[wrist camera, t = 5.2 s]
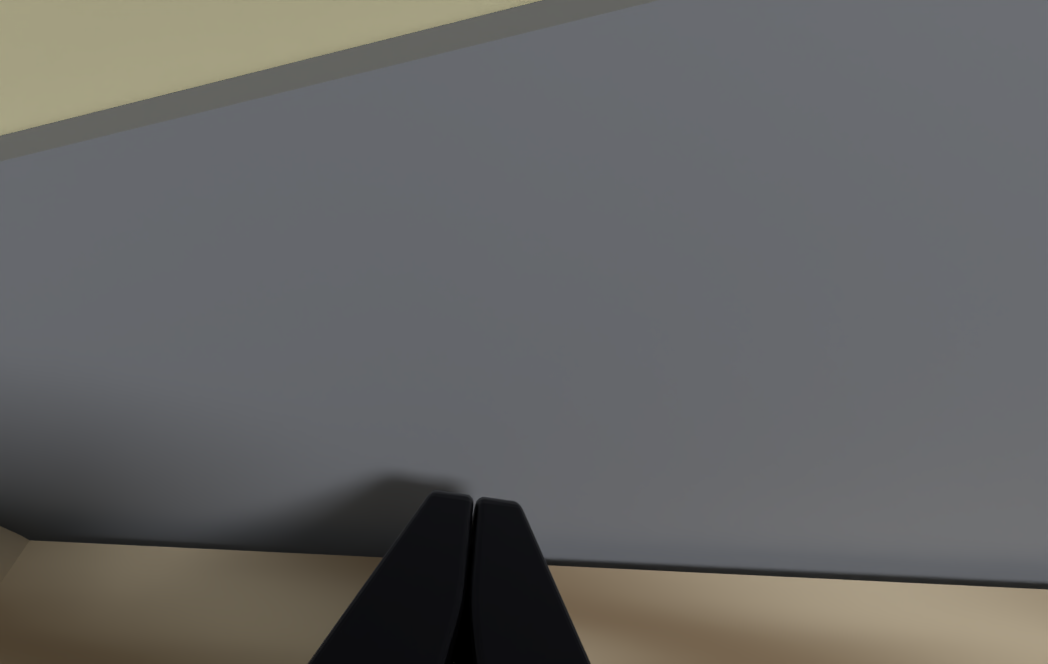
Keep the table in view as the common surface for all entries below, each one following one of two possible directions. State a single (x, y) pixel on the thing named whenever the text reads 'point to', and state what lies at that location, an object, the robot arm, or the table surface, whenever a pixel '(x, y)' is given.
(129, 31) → the table surface
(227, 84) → the pivot board
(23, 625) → the link
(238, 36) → the table surface
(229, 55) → the table surface
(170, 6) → the table surface
